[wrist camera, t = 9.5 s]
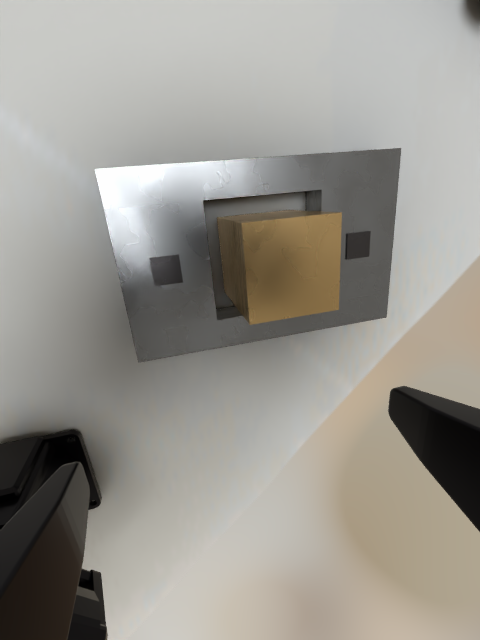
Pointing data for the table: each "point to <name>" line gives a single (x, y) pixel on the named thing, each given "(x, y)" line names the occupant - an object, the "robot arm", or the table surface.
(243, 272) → the wooden block
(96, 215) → the table surface
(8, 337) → the table surface
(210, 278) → the grey slotted plate
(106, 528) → the table surface
